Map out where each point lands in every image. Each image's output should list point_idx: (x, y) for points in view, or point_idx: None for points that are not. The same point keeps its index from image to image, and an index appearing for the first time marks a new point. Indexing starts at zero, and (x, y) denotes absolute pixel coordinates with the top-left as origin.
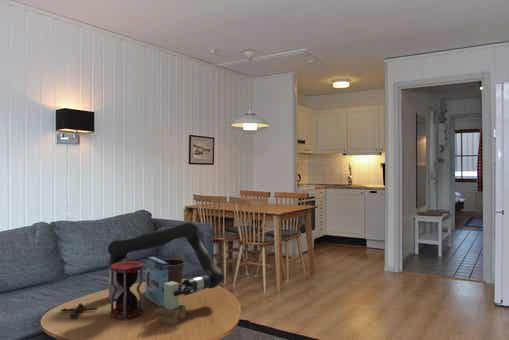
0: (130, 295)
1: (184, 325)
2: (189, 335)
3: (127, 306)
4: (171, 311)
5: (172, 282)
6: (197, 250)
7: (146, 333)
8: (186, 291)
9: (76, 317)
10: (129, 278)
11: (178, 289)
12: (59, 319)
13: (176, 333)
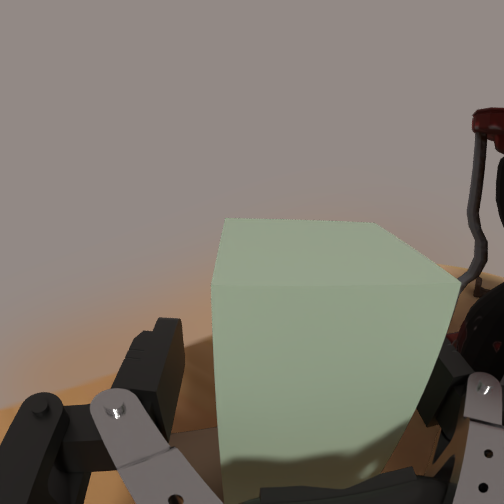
0: (502, 301)
1: (102, 492)
2: (22, 402)
3: (461, 333)
4: (194, 435)
5: (354, 260)
6: None
7: (208, 352)
8: (30, 427)
9: (474, 292)
10: (501, 185)
11: (217, 416)
12: (475, 280)
13: (84, 400)
